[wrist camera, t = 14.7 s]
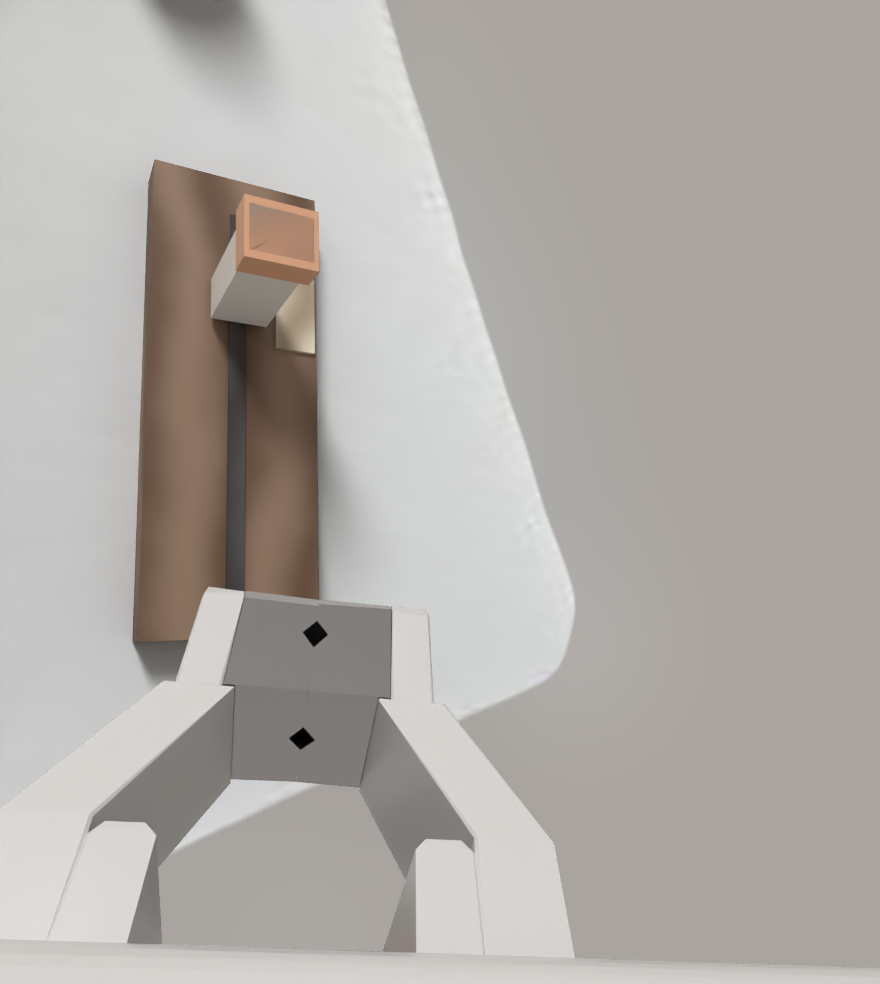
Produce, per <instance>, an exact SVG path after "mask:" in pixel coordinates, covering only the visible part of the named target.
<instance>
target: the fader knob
mask: <svg viewBox="0 0 880 984" xmlns="http://www.w3.org/2000/svg"><path fill="white" fill-rule="evenodd" d="M318 273H319V212H316V211H312V210H308V209H304V208H300V207H296V206H292V205H288V204H284V203H280V202H276V201H272V200H268V199H264V198H260V197H256V196H252V195H249V194H245V193H244V195H243V197H242V200H241V202H240V204H239V206H238V208H237V210H236V230H235V232H234V234H233V236H232V238H231V240H230V242H229V244H228V246H227V248H226V250H225V252H224V254H223V256H222V258H221V260H220V262H219V264H218V266H217V268H216V270H215V272H214V274H213V276H212V278H211V318H214V319H220V320H226V321H232V322H238V323H244V324H250V325H256V326H262V327H267V326H268V324H269V323H270V322H271V320H272V319H273V318H274V316H275V315H276V314H277V312H278V311H279V310H280V308H281V307H282V306H283V304H284V303H285V302H286V300H287V299H288V298H289V296H290V295H291V294H292V292H293V291H294V290H295V288H296V287H297V286H298V284H303V285H309V284H310V283H311V282H312V280H313V279H314V278H315V277H316V275H317V274H318Z"/></svg>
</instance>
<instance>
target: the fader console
mask: <svg viewBox="0 0 880 984" xmlns="http://www.w3.org/2000/svg"><path fill="white" fill-rule="evenodd" d="M244 193H245V194H249V195H252V196H256V197H260V198H264V199H268V200H272V201H276V202H280V203H284V204H288V205H292V206H296V207H300V208H304V209H308V210H312V211H315V206H314V201H313V200H309V199H305V198H301V197H297V196H293V195H290V194H286V193H282V192H278V191H274V190H270V189H266V188H263V187H259V186H255V185H251V184H247V183H243V182H240V181H236V180H232V179H228V178H224V177H220V176H216V175H213V174H209V173H205V172H201V171H197V170H193V169H190V168H186V167H182V166H178V165H174V164H170V163H166V162H163V161H159V160H154V164H153V167H152V171H151V175H150V179H149V187H148V216H147V245H146V273H145V302H144V331H143V359H142V388H141V416H140V445H139V474H138V502H137V531H136V559H135V588H134V617H133V642H156V641H178V640H189V637H190V634H191V631H192V628H193V625H194V622H195V619H196V616H197V612H198V609H199V606H200V603H201V600H202V597H203V594H204V593H205V591H206V590H207V588H208V587H215V588H222V589H230V590H237V591H244V592H247V591H252V592H260V593H268V594H276V595H284V596H291V597H299V598H307V599H315V600H319V569H318V478H317V387H316V296H315V278H314V279H313V280H312V282H311V283H310V284H309V285H303V284H298V286H297V287H296V288H295V290H294V291H293V292H292V294H291V295H290V296H289V298H288V299H287V300H286V302H285V303H284V304H283V306H282V307H281V308H280V310H279V311H278V312H277V314H276V315H275V316H274V318H273V319H272V320H271V322H270V323H269V324H268V326H267V327H262V326H256V325H250V324H244V323H238V322H232V321H226V320H220V319H214V318H211V278H212V276H213V274H214V272H215V270H216V268H217V266H218V264H219V262H220V260H221V258H222V256H223V254H224V252H225V250H226V248H227V246H228V244H229V242H230V240H231V238H232V236H233V234H234V232H235V230H236V210H237V208H238V206H239V204H240V202H241V200H242V197H243V195H244Z"/></svg>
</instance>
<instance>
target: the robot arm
mask: <svg viewBox="0 0 880 984" xmlns="http://www.w3.org/2000/svg"><path fill="white" fill-rule="evenodd" d="M230 779H242V780H268V781H294V782H296V780H297V782H305V783H316V784H327V785H338V786H349V787H359V788H360V790H359V791H360V793H361V795H362V797H363V799H364V801H365V803H366V804H367V806H368V808H369V810H370V812H371V814H372V816H373V818H374V819H375V822H376V824H377V826H378V827H379V829H380V831H381V833H382V835H383V837H384V839H385V841H386V843H387V845H388V847H389V849H390V851H391V853H392V854H393V856H394V858H395V860H396V862H397V864H398V866H399V868H400V870H401V872H402V874H403V876H404V878H405V879H406V881H405V884H404V888H403V890H402V894H401V897H400V900H399V903H398V906H397V909H396V912H395V915H394V919H393V921H392V925H391V928H390V931H389V934H388V937H387V940H386V943H385V946H384V949H383V952H382V951H381V952H380V951H352V950H322V949H291V948H262V947H261V948H260V947H231V946H200V945H167V944H162V934H161V915H160V898H159V897H160V896H159V878H158V867H159V866H160V865H161V863H162V862H163V861H164V860H165V859H166V858H167V856H168V855H169V854H170V853H171V852H172V851H173V849H174V848H175V847H176V846H177V845H178V844H179V842H180V841H181V840H182V839H183V838H184V837H185V835H186V834H187V833H188V832H189V831H190V830H191V828H192V827H193V826H194V825H195V824H196V823H197V821H198V820H199V819H200V818H201V817H202V816H203V814H204V813H205V812H206V811H207V810H208V809H209V807H210V806H211V805H212V804H213V803H214V802H215V800H216V799H217V798H218V797H219V796H220V795H221V793H222V792H223V791H224V790H225V789H226V788H227V786H228V785H229V784H230ZM0 984H880V968H869V967H838V966H807V965H776V964H744V963H715V962H714V963H713V962H686V961H685V962H684V961H654V960H625V959H593V958H575V957H574V951H573V946H572V940H571V935H570V929H569V924H568V919H567V913H566V907H565V902H564V897H563V891H562V886H561V880H560V875H559V869H558V864H557V858H556V853H555V847H554V843H553V842H552V841H551V840H550V838H549V837H548V836H547V834H546V833H545V832H544V831H543V829H542V828H541V827H540V826H539V824H538V823H537V822H536V820H535V819H534V818H533V817H532V815H531V814H530V813H529V811H528V810H527V809H526V808H525V806H524V805H523V804H522V803H521V801H520V800H519V799H518V797H517V796H516V795H515V794H514V792H513V791H512V790H511V789H510V787H509V786H508V785H507V784H506V782H505V781H504V780H503V778H502V777H501V776H500V775H499V773H498V772H497V771H496V769H495V768H494V767H493V766H492V764H491V763H490V762H489V761H488V759H487V758H486V757H485V755H484V754H483V753H482V752H481V750H480V749H479V748H478V747H477V745H476V744H475V743H474V741H473V740H472V739H471V738H470V736H469V735H468V734H467V733H466V731H465V730H464V729H463V727H462V726H461V725H460V724H459V722H458V721H457V720H456V718H455V717H454V716H453V715H452V713H451V712H450V711H449V710H448V708H447V707H446V706H445V705H444V704H436V703H434V698H433V680H432V662H431V643H430V625H429V614H428V612H427V610H426V609H416V608H405V607H394V606H391V608H390V607H389V606H381V605H370V604H360V603H349V602H339V601H328V600H315V599H307V598H299V597H291V596H284V595H276V594H268V593H260V592H252V591H247V592H244V591H237V590H230V589H222V588H215V587H208V588H207V590H206V591H205V593H204V594H203V597H202V600H201V603H200V606H199V609H198V612H197V616H196V619H195V622H194V625H193V628H192V631H191V634H190V637H189V640H188V644H187V647H186V650H185V653H184V656H183V659H182V662H181V665H180V668H179V672H178V675H177V678H176V681H162V682H161V683H160V684H158V685H157V686H156V687H155V688H153V689H152V690H151V691H150V692H148V693H147V694H146V695H144V696H143V697H142V698H141V699H139V700H138V701H137V702H136V703H134V704H133V705H132V706H130V707H129V708H128V709H127V710H125V711H124V712H123V713H121V714H120V715H119V716H118V717H116V718H115V719H114V720H113V721H111V722H110V723H109V724H107V725H106V726H105V727H104V728H102V729H101V730H100V731H99V732H97V733H96V734H95V735H93V736H92V737H91V738H90V739H88V740H87V741H86V742H85V743H83V744H82V745H81V746H79V747H78V748H77V749H76V750H74V751H73V752H72V753H70V754H69V755H68V756H67V757H65V758H64V759H63V760H62V761H60V762H59V763H58V764H56V765H55V766H54V767H53V768H51V769H50V770H49V771H48V772H46V773H45V774H44V775H42V776H41V777H40V778H39V779H37V780H36V781H35V782H33V783H32V784H31V785H30V786H28V787H27V788H26V789H25V790H23V791H22V792H21V793H19V794H18V795H17V796H16V797H14V798H13V799H12V800H11V801H9V802H8V803H7V804H5V805H4V806H3V807H2V808H0Z"/></svg>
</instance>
